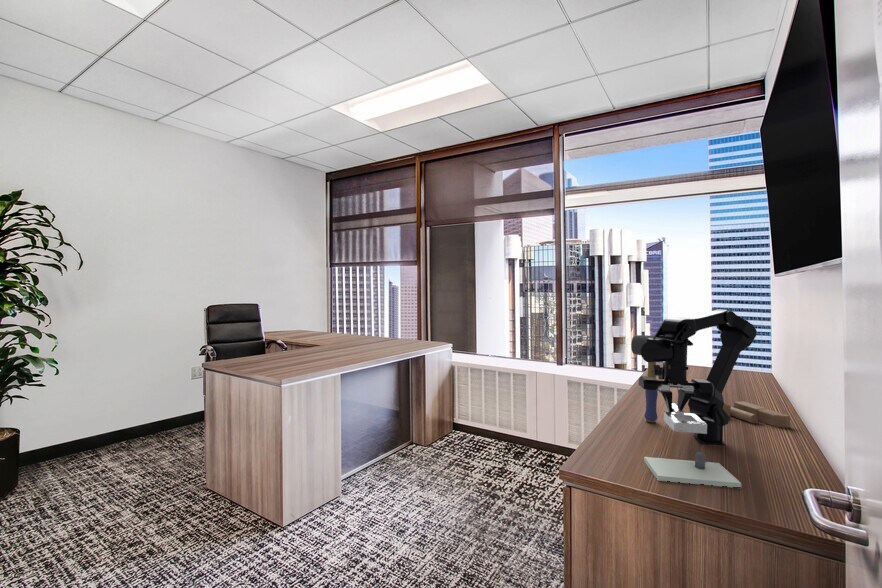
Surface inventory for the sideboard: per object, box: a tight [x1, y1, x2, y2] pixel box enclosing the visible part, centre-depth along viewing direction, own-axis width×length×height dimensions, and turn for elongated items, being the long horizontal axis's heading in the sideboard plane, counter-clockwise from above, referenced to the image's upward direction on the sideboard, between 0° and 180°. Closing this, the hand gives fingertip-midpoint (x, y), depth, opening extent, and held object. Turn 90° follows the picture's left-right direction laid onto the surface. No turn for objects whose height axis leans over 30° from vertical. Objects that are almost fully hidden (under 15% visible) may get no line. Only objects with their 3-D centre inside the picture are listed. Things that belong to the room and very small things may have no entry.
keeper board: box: [643, 451, 742, 488], centre depth 102 cm, size 18×11×5 cm, turn 79°
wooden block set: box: [723, 400, 791, 429], centre depth 143 cm, size 17×6×18 cm
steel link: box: [663, 402, 707, 434], centre depth 115 cm, size 14×8×3 cm, turn 169°
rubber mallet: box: [630, 334, 659, 423], centre depth 141 cm, size 12×8×30 cm, turn 46°
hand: (674, 413), depth 120 cm, fingers closed on steel link, 2 cm apart
